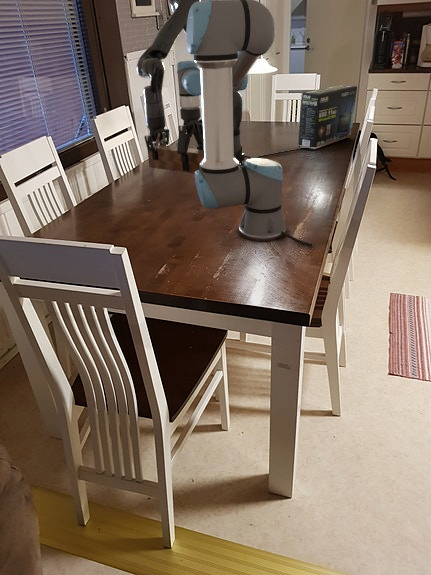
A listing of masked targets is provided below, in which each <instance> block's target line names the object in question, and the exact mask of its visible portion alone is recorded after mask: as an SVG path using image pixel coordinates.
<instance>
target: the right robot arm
mask: <svg viewBox="0 0 431 575" xmlns="http://www.w3.org/2000/svg"><path fill="white" fill-rule="evenodd" d="M276 27H277V26H276V21H275V19H274V16H273V14H272V13H271V11H270V9H269V8H267V6H266V5H264V4H263V3H261V2H260V1H257V0H201V1H200V2H195V3H194V4H193V5H192V6H191V8H190V10H189V14H188V20H187V30H186V34H185V42H186V51H187V53H188V54H189V55H192V56H193V60H182V61H178V62H177V65H176V67H177V68H176V69H177V71H176V74H177V83H178V95H179V96H178V97H179V107H180V109H179V112H180V119H181V120H182V121H183V124H182V125H178V137H177V138H178V139H177V143H178V147H177V153H179V154H181V160H182V169H183V171H189V155H188V154H187V151H188V146H190V142H191V138H192V137H194V139H195V141H196V143H197V146H196V148H197V149H198V150H204V156H205V157H204V159H203V160H202V161H201V162H200V170H197V171H195V174H194V182H195V187H196V191H197V195H198V198H199V201H200V204H201V205H202V206H203V208H205V209H207V210H208V209H217V210H218V209H220V208H222V209H223V208H231V207H237V206H244V211H243V213H242V216H241V220H240V222H239V225H238V232H239V235H240V236H241V237H242V238H244V239H247V240H250V241H254V242H271V241H277V240H279V239H281V238H283V237H287V238H288V239H290V240H292V241H294V242H296V243H298V244H301V245H304V246H308V247H312V246H313V243H312V242H307V241H304V240H301V239H298V238H296V237H294V236H293V235H291V234H289V233H287V223H286V221H285V216H284V214H283V210H282V200H283V183H284V175H283V173H284V172H283V171H284V170H283V166H282V164H280V163H279V162H278V161H275V160H272V159H268V158H263V157H261V158H256V157H251V158H250V159H249V158H247V159H245V160H244V161H243V165H241V166H239V161H238V160H237V159H236V158H235V157H234V145H233V91H234V92H237V91H238V92H239V91H240V92H241V91H245V90H246V89H247V88H248V84H249V76H248V73H249V72H250V71H251V69H252V68H253V66H254V65H255V63H256V62H257V61H258V59H259V58H260V57H261V56H263V55H265V54H266V53H268V51H269V50H270V49H271V47H272V45H273V43H274V42H275V38H276V33H277V28H276ZM200 107H201V108H200ZM201 118H202V119H201ZM184 150H185V151H184Z"/></svg>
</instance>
